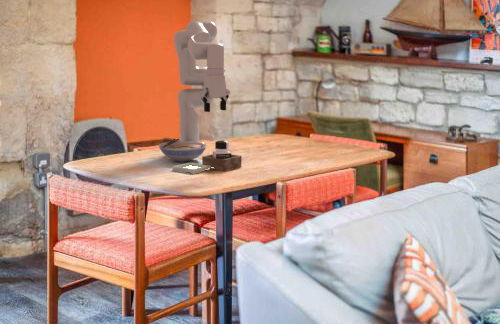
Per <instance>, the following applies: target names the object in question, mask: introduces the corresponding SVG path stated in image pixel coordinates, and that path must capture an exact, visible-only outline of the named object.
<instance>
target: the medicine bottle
mask: <svg viewBox="0 0 500 324" xmlns="http://www.w3.org/2000/svg"><path fill="white" fill-rule="evenodd" d="M214 145H215V147H214V148H215V149H214V150H212V154H213V158H218V159H228V158H231V154H232V152H231V151H229V150H230V149H229V147H230V142H229V141H228V140H223V139H222V140H217V141H215V142H214Z"/></svg>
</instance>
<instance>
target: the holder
mask: <svg viewBox="0 0 500 324" xmlns="http://www.w3.org/2000/svg"><path fill="white" fill-rule="evenodd" d="M242 158H243V157H242V155H238V154H232V153H231V158H228V159H218V158H213V153H211V154H208V155H203V156H201V159H202V161H201V163H202V164H203V165H209V166H211V167H214V168H215V169H214V170H216V171H223V172H225V171H226V172H227V171H229V170H234V169H237V168H241V167H242Z"/></svg>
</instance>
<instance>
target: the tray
mask: <svg viewBox="0 0 500 324" xmlns="http://www.w3.org/2000/svg"><path fill="white" fill-rule="evenodd" d="M189 165H192V166H198V167H201V168H197V169H188V168H183V167H186V166H189ZM208 168H211V166H209V165H203V164H201V163H196V162H187V163H182V164H177V165H173V166H172V168H171V169H172V171H174V172H179V171H180V172H179V173H185V172H190V173H191V174H192V175H195V174H199V173H203V172H202V171H203V170H205V169H208ZM190 173H189V174H190ZM191 174H190V175H191Z"/></svg>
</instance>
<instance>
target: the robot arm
mask: <svg viewBox="0 0 500 324" xmlns="http://www.w3.org/2000/svg"><path fill="white" fill-rule="evenodd" d="M217 34H218V29H217V25H216V24H215V22H213V21H211V20H193V21H190V22H188V23H187V24H186V27H185V29H183V30H177V31H176V32H175V33H174V36H173V45H174V48H175V52H176V54H177V58H178V71H179V74H178V75H179V82H180V84H181V85H182V86H185V87H201V88H183V89H181V90H179V91H178V93H177V101H178V108H179V141H191V142H200V117H199V114H198V113H197V111H196V110H195V109H198V108H199V109H200V108H201V109H203V111H204V112H205V113H210V112H211V107H212V106H213V103H214V99H220V102H219V110H221V111H226V110H227V102H228V99H229V98H230V94H231V90H229V89H228V88H227V81H226V75H225V71H226V70H225V47H224V45H223V44H222V43H219V42H214V40H215V39H216V37H217ZM198 60H199V61H200V60H202V61H203V60H206V66H197V61H198Z"/></svg>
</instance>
